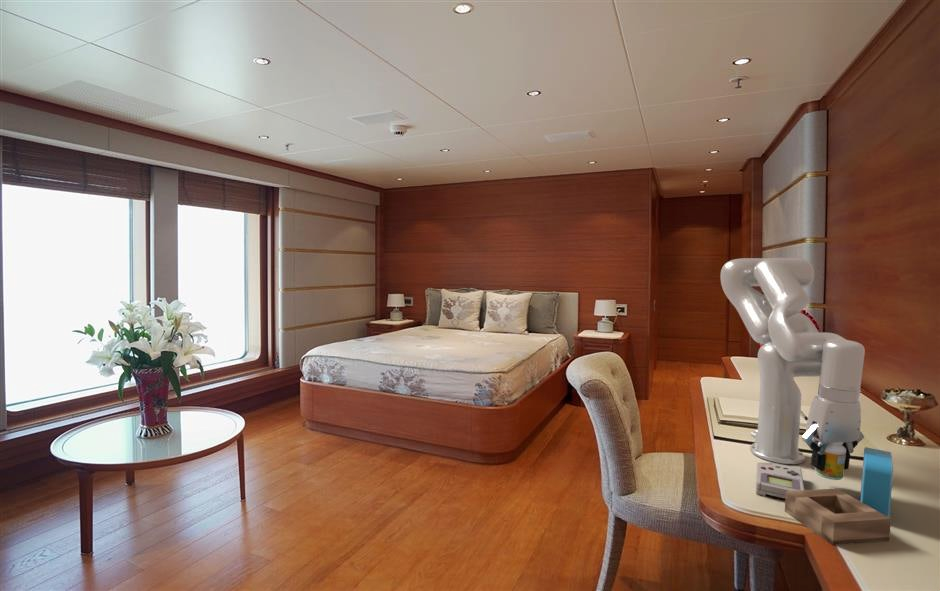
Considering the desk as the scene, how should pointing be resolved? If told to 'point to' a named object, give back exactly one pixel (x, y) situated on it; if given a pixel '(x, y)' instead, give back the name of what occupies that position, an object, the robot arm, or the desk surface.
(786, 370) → the robot arm
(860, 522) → the walnut pocket block
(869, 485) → the data package
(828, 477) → the supplement bottle
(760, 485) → the handheld gaming console
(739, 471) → the desk surface
